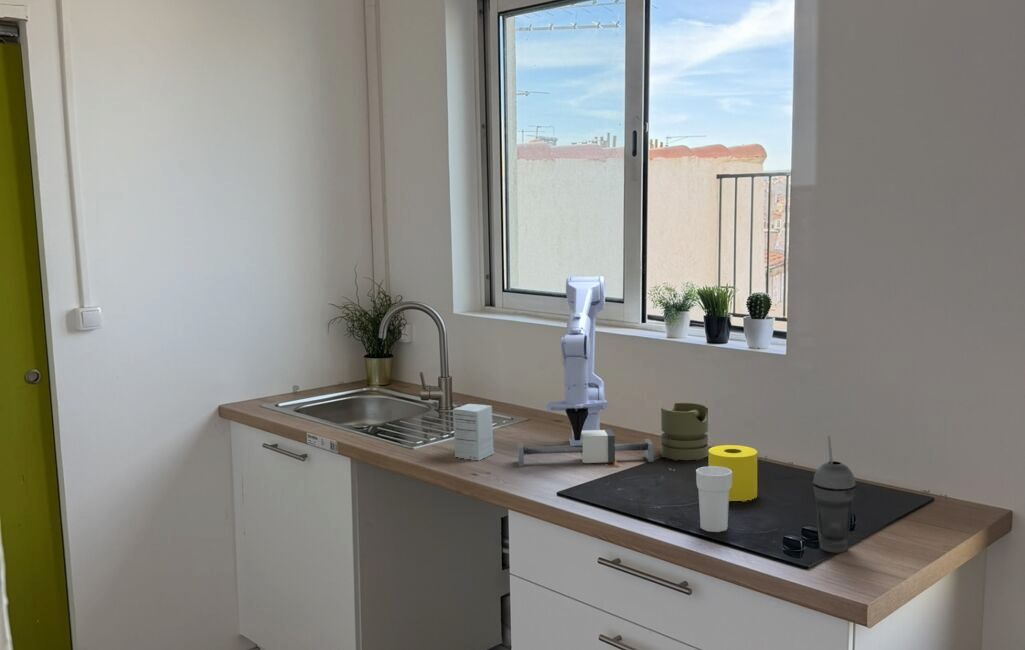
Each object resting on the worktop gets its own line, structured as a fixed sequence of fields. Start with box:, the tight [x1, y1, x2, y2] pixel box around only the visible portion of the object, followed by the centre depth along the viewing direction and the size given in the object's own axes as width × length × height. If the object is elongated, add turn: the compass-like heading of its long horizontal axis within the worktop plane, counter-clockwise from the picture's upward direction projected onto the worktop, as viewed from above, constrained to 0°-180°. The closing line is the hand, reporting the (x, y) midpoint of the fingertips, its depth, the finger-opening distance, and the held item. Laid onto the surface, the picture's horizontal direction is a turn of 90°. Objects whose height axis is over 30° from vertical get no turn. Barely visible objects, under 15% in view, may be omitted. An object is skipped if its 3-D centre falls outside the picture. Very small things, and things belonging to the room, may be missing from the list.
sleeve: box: [580, 429, 608, 464], centre depth 226 cm, size 6×6×6 cm
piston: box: [660, 402, 709, 460], centre depth 229 cm, size 11×12×11 cm
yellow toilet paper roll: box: [708, 444, 758, 502], centre depth 196 cm, size 10×10×9 cm
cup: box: [695, 465, 732, 533], centre depth 176 cm, size 7×7×11 cm
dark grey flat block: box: [603, 428, 616, 463], centre depth 226 cm, size 2×7×6 cm, turn 2°
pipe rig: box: [517, 438, 654, 468], centre depth 226 cm, size 32×11×4 cm, turn 92°
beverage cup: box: [812, 435, 857, 553], centre depth 163 cm, size 7×7×20 cm
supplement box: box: [452, 403, 495, 462], centre depth 233 cm, size 7×7×13 cm
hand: (577, 439), depth 225 cm, fingers closed
